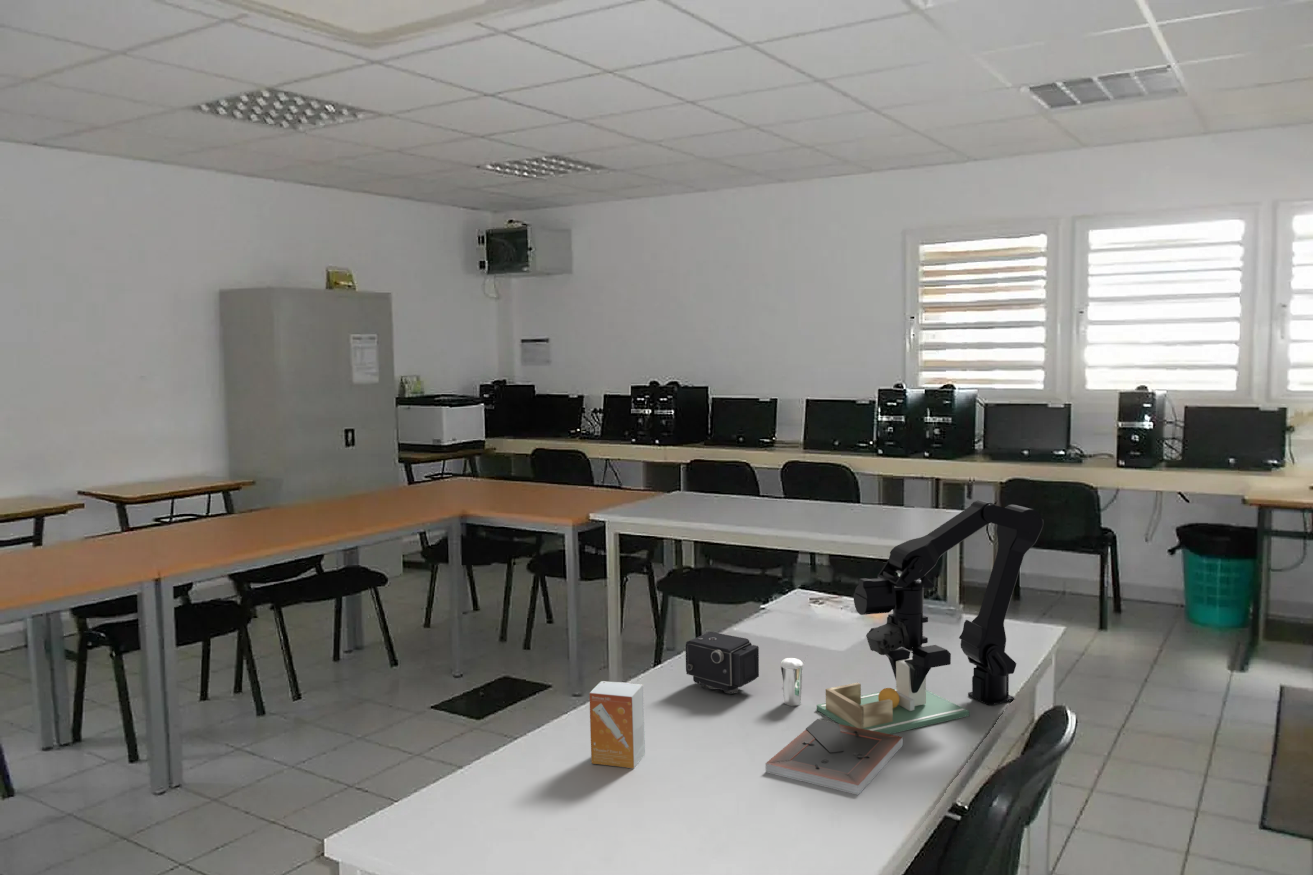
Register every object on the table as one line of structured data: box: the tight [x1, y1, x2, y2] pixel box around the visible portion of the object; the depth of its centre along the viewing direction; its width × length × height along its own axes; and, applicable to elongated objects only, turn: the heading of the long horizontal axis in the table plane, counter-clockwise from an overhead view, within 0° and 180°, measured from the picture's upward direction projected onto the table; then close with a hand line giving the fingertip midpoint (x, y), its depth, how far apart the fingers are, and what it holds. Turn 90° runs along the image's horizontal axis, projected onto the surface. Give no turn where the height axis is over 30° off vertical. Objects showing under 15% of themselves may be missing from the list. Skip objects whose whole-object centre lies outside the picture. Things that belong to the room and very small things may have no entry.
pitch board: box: [816, 688, 970, 735], centre depth 184 cm, size 24×16×1 cm, turn 113°
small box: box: [588, 680, 646, 770], centre depth 166 cm, size 8×6×13 cm
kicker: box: [895, 657, 927, 711], centre depth 185 cm, size 5×7×8 cm
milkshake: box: [780, 655, 808, 707], centre depth 190 cm, size 5×5×10 cm
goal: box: [825, 682, 893, 728], centre depth 180 cm, size 8×11×4 cm
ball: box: [878, 687, 899, 708], centre depth 183 cm, size 4×4×4 cm
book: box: [765, 718, 904, 795], centre depth 164 cm, size 16×2×22 cm
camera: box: [685, 631, 760, 694], centre depth 199 cm, size 11×11×15 cm
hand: (907, 688), depth 185 cm, fingers closed on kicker, 4 cm apart
